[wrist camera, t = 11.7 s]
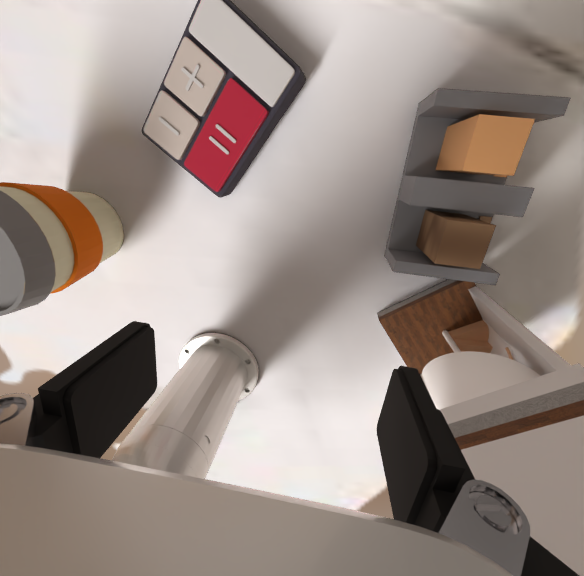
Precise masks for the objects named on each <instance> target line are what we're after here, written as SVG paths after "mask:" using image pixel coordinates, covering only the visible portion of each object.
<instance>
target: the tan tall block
mask: <svg viewBox="0 0 584 576" xmlns="http://www.w3.org/2000/svg"><path fill="white" fill-rule="evenodd" d="M534 120H535V119H530V118H518V117H506V116H494V115H482V114H479V115H476V116H474V117H471V118H468V119H466V120H463V121H461V122H458V123H456V124H453V125H450V126H448V127H447V130H446V133H445V137H444V141H443V144H442V148H441V152H440V155H439V159H438V163H437V166H436V170H438V171H448V172H458V173H467V174H480V175H508V176H514V174H515V171H516V168H517V166H518V163H519V160H520V158H521V155H522V152H523V150H524V147H525V144H526V142H527V139H528V136H529V134H530V131H531V128H532V126H533V123H534Z"/></svg>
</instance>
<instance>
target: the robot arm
mask: <svg viewBox="0 0 584 576" xmlns="http://www.w3.org/2000/svg"><path fill="white" fill-rule="evenodd" d="M179 366H180V369H179V371H178V372H177V373H176V375H175V376H174V377H173V378H172V380H171V381H170V382H169V383H168V385H167V386H166V387H165V388H164V390H163V391H162V392H161V393H160V395H159V396H158V397H157V399H156V400H155V401H154V402H153V404H152V405H151V406H150V407H149V409H148V410H147V411H146V412H145V414H144V415H143V416H142V418H141V419H140V420H139V421H138V423H137V424H136V425H135V426H134V428H133V429H132V430H131V432H130V433H129V434H128V435H127V437H126V438H125V439H124V440H123V442H122V443H121V444H120V446H119V447H118V449H117V451H116V453H115V455H114V457H113V460H112V461H110V460H105V459H100V458H101V456H102V455H103V454H104V453H105V451H106V450H107V449H108V448H109V447H110V445H111V444H112V443H113V442H114V441H115V439H116V438H117V437H118V436H119V435H120V433H121V432H122V431H123V430H124V429H125V427H126V426H127V425H128V424H129V423H130V421H131V420H132V419H133V418H134V416H135V415H136V414H137V413H138V412H139V410H140V409H141V408H142V407H143V406H144V404H145V403H146V402H147V401H148V400H149V398H150V397H151V396H152V395H153V394H154V392H155V390H156V387H157V372H156V355H155V338H154V330H153V328H151V327H150V325H149V324H147V323H141V322H135V321H133V322H131V323H130V324H128V325H127V326H125V327H124V328H122V329H121V330H120V331H118V332H117V333H115V334H114V335H113V336H111V337H110V338H108V339H107V340H105V341H104V342H103V343H101V344H100V345H98V346H97V347H96V348H94V349H93V350H91V351H90V352H89V353H87V354H86V355H84V356H83V357H81V358H80V359H79V360H77V361H76V362H74V363H73V364H72V365H70V366H69V367H67V368H66V369H64V370H63V371H62V372H60V373H59V374H57V375H56V376H55V377H53V378H52V379H50V380H49V381H47V382H46V383H45V384H43V385H42V386H40V387H39V388H38V391H39V394H38V395H37V396H35V397H34V398H32V397H31V396H30V395H27V394H24V393H13V394H6V395H2V396H0V576H580V575H578V574H577V573H576V572H574V571H573V570H572V569H571V568H569V567H568V566H567V565H566V564H564V563H563V562H562V561H561V560H559V559H558V558H557V557H556V556H554V555H553V554H552V553H551V552H549V551H548V550H547V549H546V548H544V547H543V546H542V545H541V544H539V543H538V542H537V541H536V540H534V539H533V538H532V537H531V536H530V525H529V522H528V519H527V517H526V515H525V514H524V512H523V511H522V509H521V508H520V506H519V505H518V504H517V503H516V502H515V501H514V500H513V499H512V498H511V497H510V496H509V495H508V494H506V493H505V492H504V491H503V490H501V489H500V488H498V487H496V486H494V485H493V484H491V483H488V482H485V481H482V480H475V478H474V476H473V474H472V472H471V470H470V468H469V466H468V464H467V462H466V460H465V458H464V456H463V454H462V452H461V450H460V448H459V446H458V444H457V442H456V440H455V438H454V436H453V434H452V432H451V430H450V428H449V426H448V424H447V422H446V420H445V418H444V416H443V414H442V412H441V411H440V410H438V409H436V407H435V405H434V402H433V400H432V398H431V396H430V394H429V392H428V390H427V388H426V386H425V384H424V382H423V380H422V378H421V376H420V374H419V372H418V370H417V369H416V368H411V367H405V366H400V367H399V368H398V369H394V370H393V372H392V376H391V379H390V383H389V386H388V390H387V393H386V396H385V400H384V403H383V407H382V410H381V413H380V417H379V420H378V424H377V436H378V441H379V446H380V451H381V456H382V461H383V466H384V471H385V476H386V481H387V486H388V491H389V496H390V502H391V506H392V511H393V516H394V519H390V518H386V517H381V516H377V515H372V514H368V513H364V512H359V511H355V510H350V509H346V508H342V507H337V506H332V505H327V504H323V503H318V502H313V501H308V500H303V499H299V498H294V497H289V496H284V495H280V494H275V493H270V492H265V491H260V490H256V489H251V488H246V487H241V486H236V485H231V484H226V483H221V482H216V481H211V480H206V479H205V478H206V475H207V473H208V471H209V468H210V466H211V464H212V461H213V459H214V456H215V454H216V452H217V449H218V447H219V445H220V442H221V440H222V438H223V435H224V433H225V431H226V428H227V426H228V424H229V421H230V419H231V417H232V414H233V412H234V410H235V407H236V405H237V403H238V401H239V400H242V399H244V398H246V397H247V396H248V395H249V394H251V392H252V391H253V390H254V388H255V386H256V383H257V380H258V375H259V370H258V364H257V362H256V359H255V357H254V356H253V354H252V353H251V351H250V350H249V349H248V348H247V347H246V346H245V345H244V344H242V343H241V342H240V341H238V340H236V339H235V338H233V337H230V336H227V335H224V334H220V333H205V334H201V335H198V336H196V337H194V338H193V339H191V340H190V341H189V342H188V343H187V344H186V345H185V346H184V348H183V349H182V351H181V354H180V358H179Z"/></svg>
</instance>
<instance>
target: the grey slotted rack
mask: <svg viewBox="0 0 584 576" xmlns="http://www.w3.org/2000/svg"><path fill="white" fill-rule="evenodd" d="M570 99H571V98H568V97H554V96H540V95H525V94H511V93H496V92H482V91H468V90H453V89H439V88H438V89H437V90H435V91H434V92H433V93H432V94H430V95H429V96H428V97H427V98H425V99H424V100H423V101H421V102H420V103H419V105H418V110H417V114H416V119H415V123H414V127H413V132H412V136H411V141H410V145H409V149H408V154H407V158H406V163H405V167H404V172H403V176H402V180H401V185H400V189H399V194H398V198H397V202H396V207H395V211H394V216H393V220H392V224H391V229H390V233H389V238H388V242H387V247H386V251H385V255H384V256H385V258H386V260H387V261H388V263H389V265H390V267H391V269H392V271H393V272H399V273H406V274H414V275H422V276H429V277H437V278H444V279H452V280H460V281H467V282H475V283H482V284H490V285H496V283H497V280H498V278H499V275H500V274H499V273H498V272H496V271H495V270H493V269H491V268H490V267H488V266H487V265H485V264H484V263H482V265H481V267H480V269H474V268H467V267H459V266H451V265H443V264H435V263H434V262H433V261H432V260H431V259H430V258H429V257H428V256H426V255H425V254H424V253H423V252H422V251H421V250H420V249H419V248H418V247H417V246H416V243H417V239H418V235H419V232H420V228H421V224H422V220H423V217H424V213H425V210H432V211H441V212H450V213H459V214H465V215H468V216H471V217H473V218H476V219H479V220H482V221H485V222H487V223H491V220H492V217H493V214H498V215H507V216H516V217H523V216H524V213H525V211H526V208H527V206H528V203H529V201H530V198H531V196H532V193H533V191H534V188H528V187H518V186H508V185H504V184H505V181H506V178H507V176H508V175H480V174H467V173H458V172H448V171H438V170H436V166H437V163H438V159H439V155H440V152H441V148H442V144H443V141H444V137H445V133H446V130H447V127H448V126H450V125H453V124H456V123H458V122H461V121H463V120H466V119H468V118H471V117H474V116H476V115H479V114H482V115H494V116H506V117H518V118H530V119H535V120H534V122H538V121H542V120H547V119H551V118H555V117H559V116H563V115H564V114H565V111H566V109H567V106H568V104H569V101H570Z"/></svg>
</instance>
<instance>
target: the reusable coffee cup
mask: <svg viewBox="0 0 584 576" xmlns="http://www.w3.org/2000/svg"><path fill="white" fill-rule="evenodd" d="M123 237H124V232H123V226H122V223H121V220H120V218H119V216H118V214H117V213H116V211H115V210H114V208H113V207H112V206H111V205H110V204H109V203H108V202H107V201H105V200H104V199H103V198H101V197H99V196H97V195H95V194H92V193H87V192H75V191H64V190H62V189H59V188H56V187H52V186H42V185H30V184H17V183H5V182H3V183H0V316H2V315H6V314H9V313H12V312H15V311H18V310H21V309H24V308H27V307H30V306H33V305H36V304H38V303H40V302H42V301H43V300H45V299H46V298H47V296H48V295H49V294H50V293H55V292H59V291H62V290H63V289H65V288H66V287H68V286H70V285H71V284H73V283H75V282H76V281H78V280H79V279H81V278H83V277H84V276H86V275H88V274H89V273H91V272H92V271H94V270H95V269H96V267H97V266H98V265H99V263H101V262H102V261H104V260H106V259H107V258H109V257H111V256H112V255H114V254H116V253H117V252H118V251H119V249H120V248H121V246H122V243H123Z"/></svg>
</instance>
